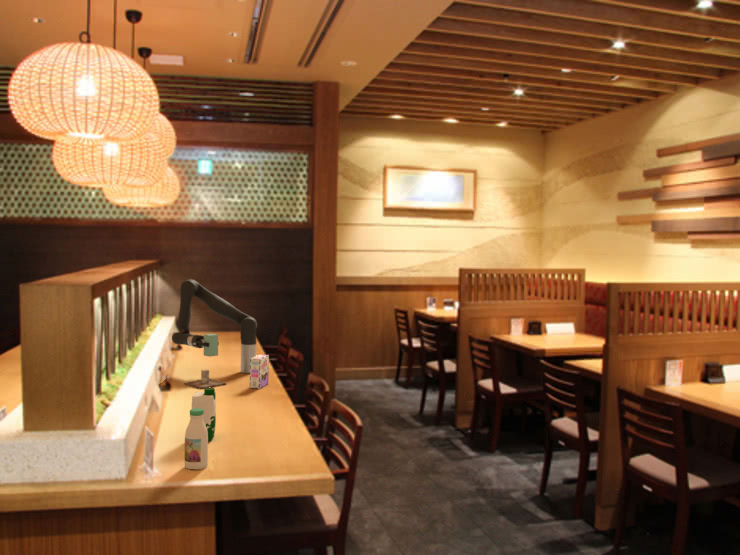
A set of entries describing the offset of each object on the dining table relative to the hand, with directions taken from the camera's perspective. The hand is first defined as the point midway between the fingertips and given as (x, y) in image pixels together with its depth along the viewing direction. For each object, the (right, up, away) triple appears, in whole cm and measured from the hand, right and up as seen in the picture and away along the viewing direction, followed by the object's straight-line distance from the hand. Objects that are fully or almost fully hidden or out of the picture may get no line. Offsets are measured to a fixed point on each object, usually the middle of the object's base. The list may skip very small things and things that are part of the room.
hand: (213, 344), depth 360 cm
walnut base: (-1, -21, -14) cm, 25 cm away
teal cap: (-2, -6, +2) cm, 7 cm away
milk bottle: (+29, -27, -142) cm, 148 cm away
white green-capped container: (+23, -26, -111) cm, 116 cm away
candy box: (+29, -22, -15) cm, 39 cm away
